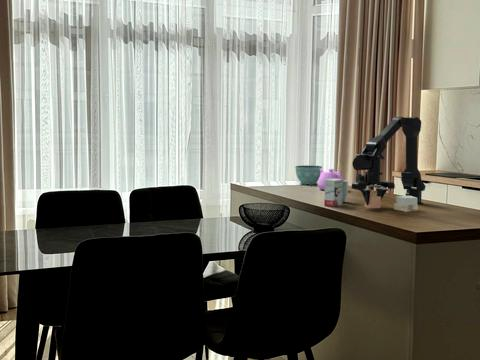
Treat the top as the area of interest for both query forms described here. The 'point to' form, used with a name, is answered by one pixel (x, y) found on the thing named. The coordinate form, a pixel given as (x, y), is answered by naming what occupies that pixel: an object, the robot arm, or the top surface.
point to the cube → (374, 202)
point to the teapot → (327, 177)
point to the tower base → (405, 207)
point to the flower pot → (308, 174)
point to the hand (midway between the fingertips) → (372, 204)
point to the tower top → (406, 200)
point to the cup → (344, 190)
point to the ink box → (333, 192)
